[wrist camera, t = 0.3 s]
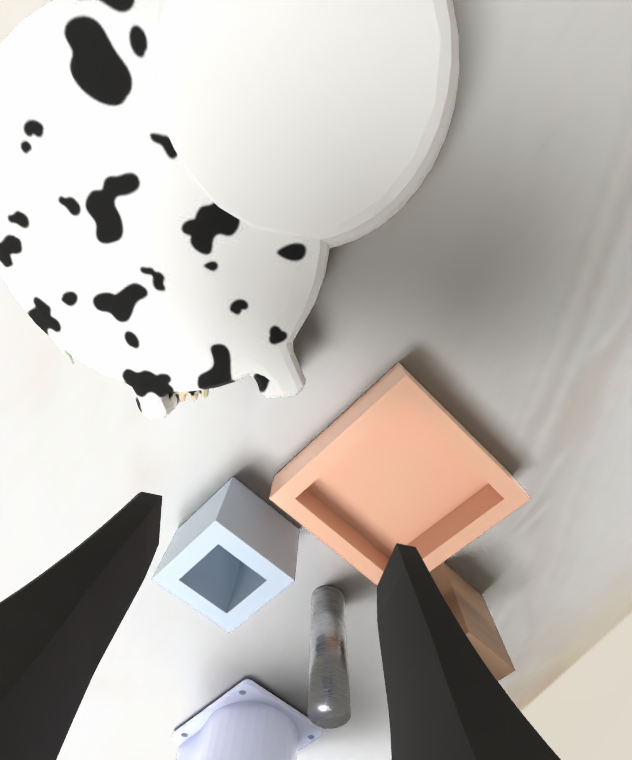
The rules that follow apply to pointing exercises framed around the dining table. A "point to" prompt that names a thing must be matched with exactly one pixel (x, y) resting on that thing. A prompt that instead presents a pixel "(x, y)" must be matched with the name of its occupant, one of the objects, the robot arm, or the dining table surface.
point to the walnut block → (473, 619)
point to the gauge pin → (328, 660)
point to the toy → (207, 172)
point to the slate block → (230, 556)
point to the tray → (396, 480)
